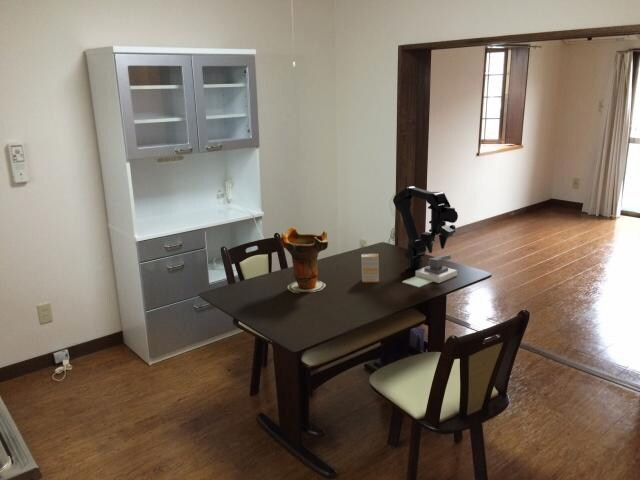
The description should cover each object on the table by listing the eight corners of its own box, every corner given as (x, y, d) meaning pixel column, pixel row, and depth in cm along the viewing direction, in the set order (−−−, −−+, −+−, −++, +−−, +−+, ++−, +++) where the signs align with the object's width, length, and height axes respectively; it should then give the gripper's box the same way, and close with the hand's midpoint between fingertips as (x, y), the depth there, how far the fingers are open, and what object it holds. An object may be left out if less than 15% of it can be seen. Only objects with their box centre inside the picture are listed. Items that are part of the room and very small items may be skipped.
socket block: (415, 276, 263) (415, 270, 262) (433, 269, 272) (433, 264, 271) (439, 283, 253) (439, 277, 252) (456, 276, 262) (457, 270, 261)
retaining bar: (429, 266, 267) (429, 259, 266) (427, 265, 268) (427, 258, 267) (450, 262, 272) (451, 255, 271) (448, 261, 274) (448, 254, 273)
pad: (402, 283, 256) (402, 281, 256) (415, 277, 262) (415, 276, 262) (418, 288, 248) (418, 286, 248) (432, 282, 255) (432, 281, 254)
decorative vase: (328, 294, 244) (322, 234, 237) (279, 295, 249) (272, 236, 242) (336, 279, 264) (331, 223, 256) (290, 280, 268) (284, 225, 261)
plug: (424, 275, 263) (424, 258, 261) (434, 271, 268) (434, 255, 266) (437, 279, 257) (438, 262, 255) (447, 275, 262) (448, 258, 260)
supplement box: (379, 279, 262) (378, 253, 259) (379, 282, 258) (378, 256, 254) (361, 279, 263) (361, 253, 259) (361, 282, 258) (361, 256, 255)
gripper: (439, 225, 243) (438, 258, 247) (463, 218, 255) (462, 249, 259) (419, 221, 251) (419, 253, 255) (443, 214, 263) (443, 245, 267)
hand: (436, 250), depth 259 cm, fingers open, 9 cm apart
